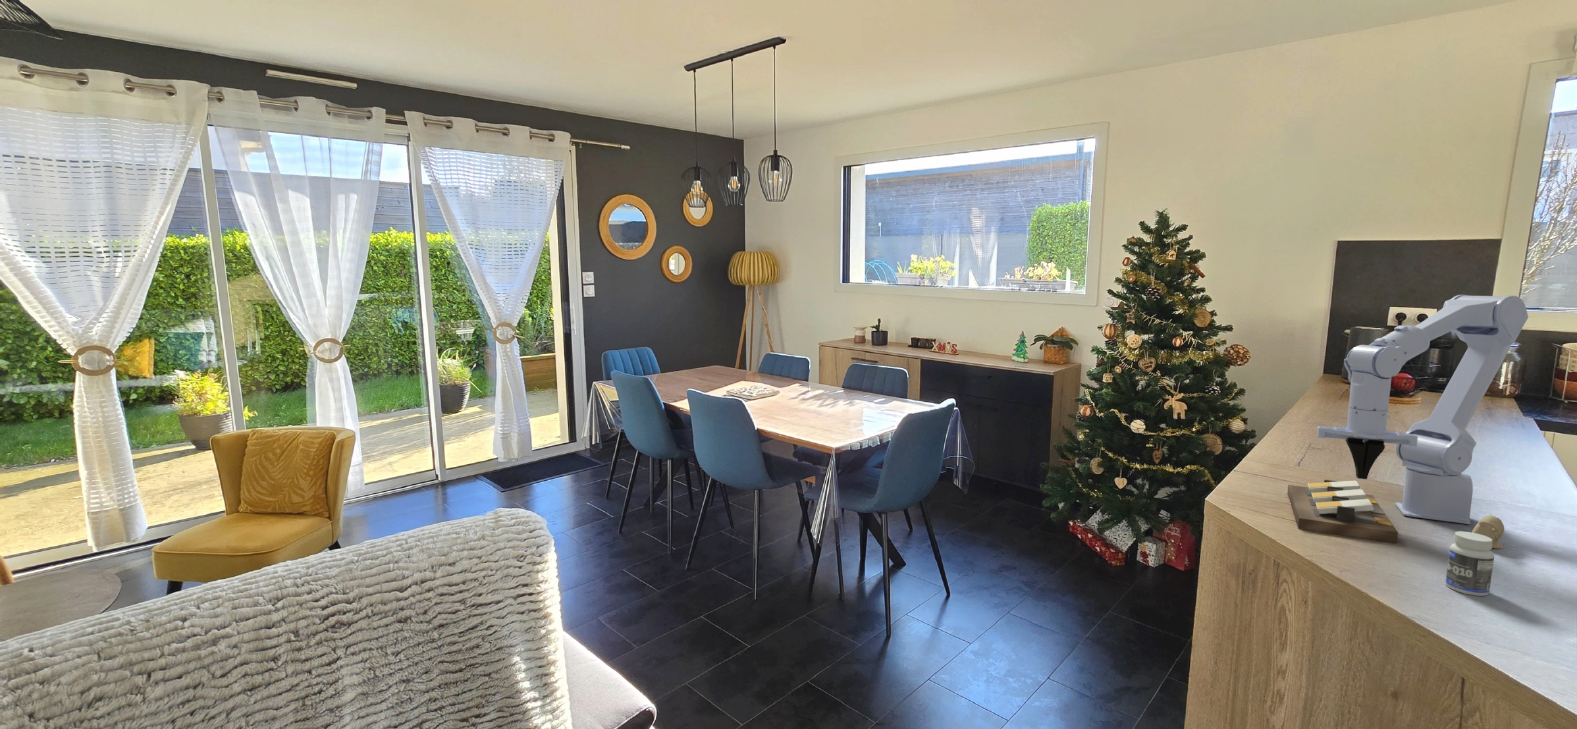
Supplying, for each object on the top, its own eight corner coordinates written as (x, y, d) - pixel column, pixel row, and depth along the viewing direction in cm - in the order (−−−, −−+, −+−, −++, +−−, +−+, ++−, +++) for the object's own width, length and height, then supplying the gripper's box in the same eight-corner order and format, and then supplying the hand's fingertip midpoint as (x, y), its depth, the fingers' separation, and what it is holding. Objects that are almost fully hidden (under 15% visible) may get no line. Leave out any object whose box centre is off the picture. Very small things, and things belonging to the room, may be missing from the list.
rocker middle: (1363, 493, 132) (1361, 488, 132) (1366, 499, 129) (1365, 493, 129) (1312, 497, 136) (1311, 492, 136) (1314, 503, 133) (1313, 497, 133)
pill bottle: (1436, 583, 104) (1442, 530, 103) (1464, 581, 104) (1470, 529, 103) (1469, 597, 99) (1476, 542, 98) (1499, 596, 99) (1505, 541, 98)
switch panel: (1371, 504, 139) (1373, 482, 139) (1396, 542, 119) (1399, 517, 119) (1287, 493, 147) (1289, 473, 146) (1298, 528, 127) (1300, 504, 126)
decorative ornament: (1505, 543, 119) (1509, 514, 118) (1496, 555, 114) (1500, 524, 113) (1473, 536, 122) (1476, 507, 121) (1463, 547, 117) (1466, 517, 116)
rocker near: (1369, 504, 126) (1368, 498, 126) (1373, 510, 123) (1372, 504, 123) (1316, 507, 130) (1315, 502, 130) (1319, 513, 127) (1317, 508, 127)
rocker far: (1357, 485, 138) (1355, 479, 138) (1360, 490, 134) (1359, 485, 134) (1308, 487, 142) (1307, 482, 142) (1310, 493, 139) (1309, 487, 139)
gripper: (1322, 408, 129) (1316, 477, 131) (1424, 415, 121) (1416, 488, 123) (1318, 402, 135) (1312, 468, 137) (1415, 409, 127) (1407, 479, 129)
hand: (1361, 477), depth 130 cm, fingers closed
